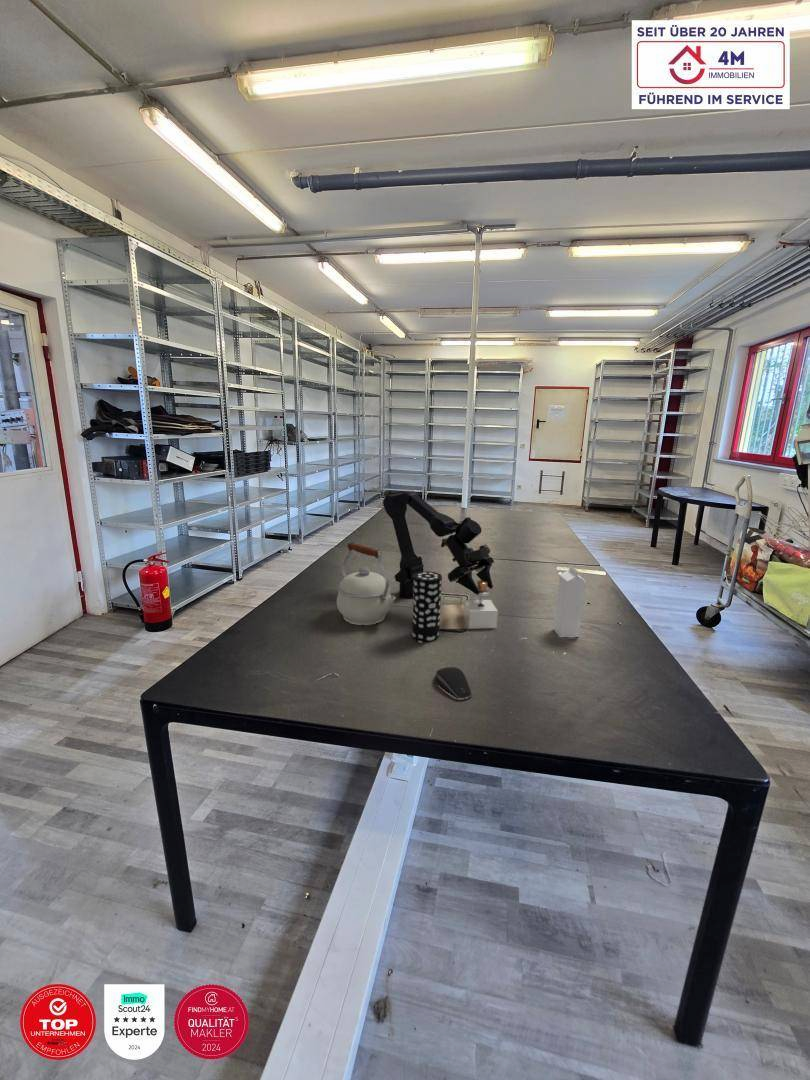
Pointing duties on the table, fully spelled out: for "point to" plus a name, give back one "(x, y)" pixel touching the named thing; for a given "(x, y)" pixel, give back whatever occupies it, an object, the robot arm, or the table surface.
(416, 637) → the white-spotted black cylinder
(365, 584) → the kettle
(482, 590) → the plunger
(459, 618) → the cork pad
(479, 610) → the white square block
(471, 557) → the robot arm
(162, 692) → the table surface
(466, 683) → the computer mouse
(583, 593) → the milk
